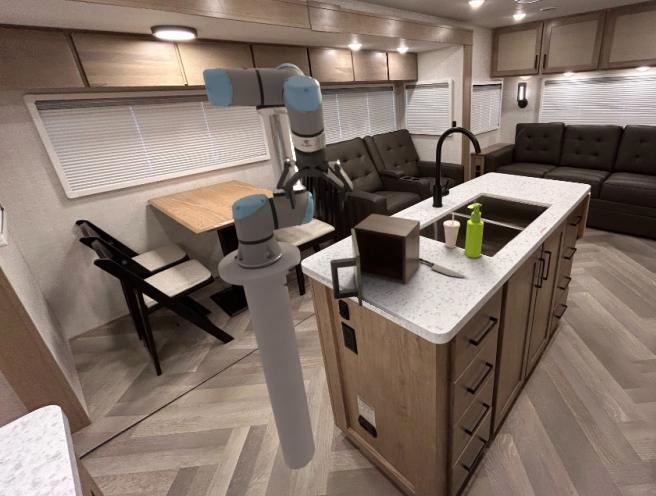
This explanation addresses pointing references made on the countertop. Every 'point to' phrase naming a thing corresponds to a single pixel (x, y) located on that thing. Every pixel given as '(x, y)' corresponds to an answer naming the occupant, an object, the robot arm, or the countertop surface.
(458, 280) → the countertop surface
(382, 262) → the cupboard
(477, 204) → the soap dispenser
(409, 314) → the countertop surface
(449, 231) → the smoothie
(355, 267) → the cupboard door
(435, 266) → the chef's knife
